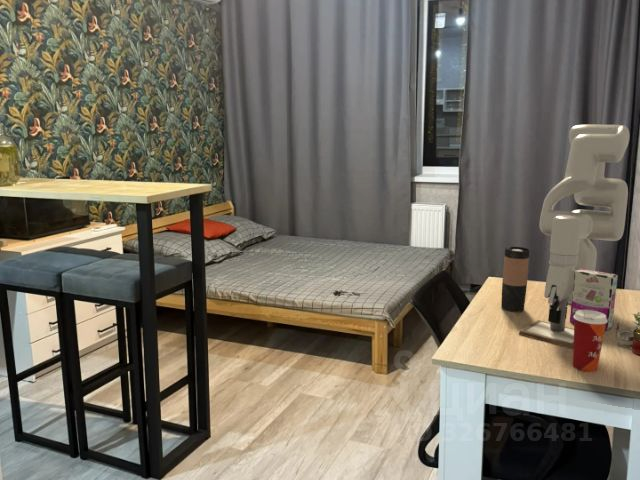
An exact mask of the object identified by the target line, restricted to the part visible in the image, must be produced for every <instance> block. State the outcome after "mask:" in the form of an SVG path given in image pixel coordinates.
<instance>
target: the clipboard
mask: <svg viewBox="0 0 640 480" xmlns="http://www.w3.org/2000/svg"><path fill="white" fill-rule="evenodd" d="M518 331H519V332H518V334H519V335H522V336H526V337H528V338H533V339H537V340H540V341H544V342H547V343H551V344H555V345H560V346H563V347H566V348H571V349H573V345H574V327H567V326H565V330H564V331H561V332H558V331H553V330H551V329H550V322H549V321H548V322H546V321H544V320H543V321H542V320H538V319H537V320H536V321H534V322H532V323H531V324H530V323H529V324H528V325H527V326H524V328H522V329H520V330H518Z"/></svg>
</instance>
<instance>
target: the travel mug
mask: <svg viewBox="0 0 640 480" xmlns="http://www.w3.org/2000/svg"><path fill="white" fill-rule="evenodd" d="M504 248H505V249H504V258H503V259H504V261H503V270H502V283H501V303H500V304H501V307H500V308H501V309H502V310H505V311H508V312H516V313H517V312H523V311H524V309H525V305H526V296H527V286H528V277H529V276H528V275H529V265H530V264H529V263H530V253H531V252H530V249H528V247H527V248H526V247H523V246H510V247H508V248H507V247H504Z"/></svg>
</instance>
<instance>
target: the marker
mask: <svg viewBox="0 0 640 480" xmlns="http://www.w3.org/2000/svg"><path fill="white" fill-rule="evenodd" d="M555 299H558V297H555ZM566 301H567V298H565V299H563V300H562V301H561V307H560V310H561V319H560V323H559V324H556V323H552V322H549V323H550V329H551V330H553V331H558V332H561V331H564V330H565V327H566V320H567V316H566V307H567V306H566ZM555 302H556V303H557V305H558V301H555Z"/></svg>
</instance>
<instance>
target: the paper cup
mask: <svg viewBox="0 0 640 480" xmlns="http://www.w3.org/2000/svg"><path fill="white" fill-rule="evenodd" d="M573 317H574V319H575V322H574V323H573V324H574V327H573V329H574V345H573V348H572V351H573V352H572V366H573V368H575V369H577V370H579V371H583V372H589V373H592V372H596V371H597V370H598V367H599V362H600V357H601V352H602V346H603V341H604V335H605V331H606V330H605V325H606V323H607V322H608V321H607V319H606V315H605V314H603V313H601V312H598V311H593V310H578V311H576V313H575V315H574V316H573Z"/></svg>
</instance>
